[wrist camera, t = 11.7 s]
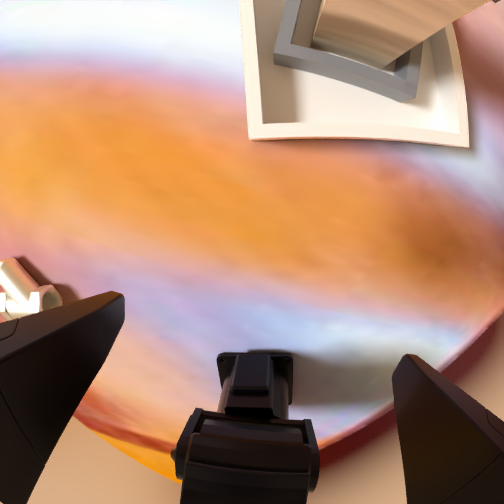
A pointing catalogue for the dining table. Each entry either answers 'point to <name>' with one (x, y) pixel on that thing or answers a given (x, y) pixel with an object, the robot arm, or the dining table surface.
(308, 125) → the walled box
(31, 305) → the pipe fitting
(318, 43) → the wooden block
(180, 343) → the dining table surface
